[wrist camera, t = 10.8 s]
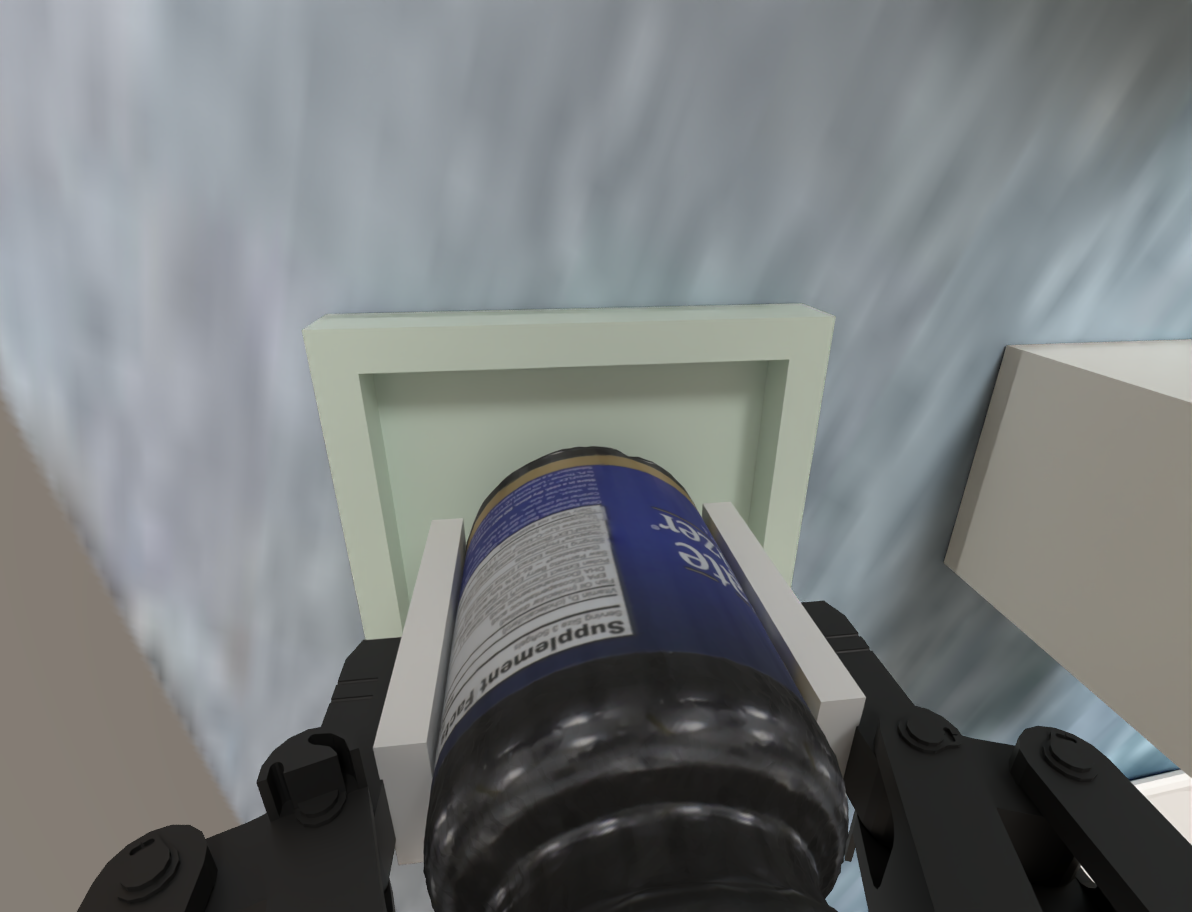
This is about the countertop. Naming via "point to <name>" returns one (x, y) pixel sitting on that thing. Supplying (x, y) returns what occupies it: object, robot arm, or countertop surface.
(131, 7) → the countertop surface
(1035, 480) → the open cream box
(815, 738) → the pill bottle
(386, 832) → the robot arm
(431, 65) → the countertop surface
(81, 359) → the countertop surface
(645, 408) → the tray
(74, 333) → the countertop surface
